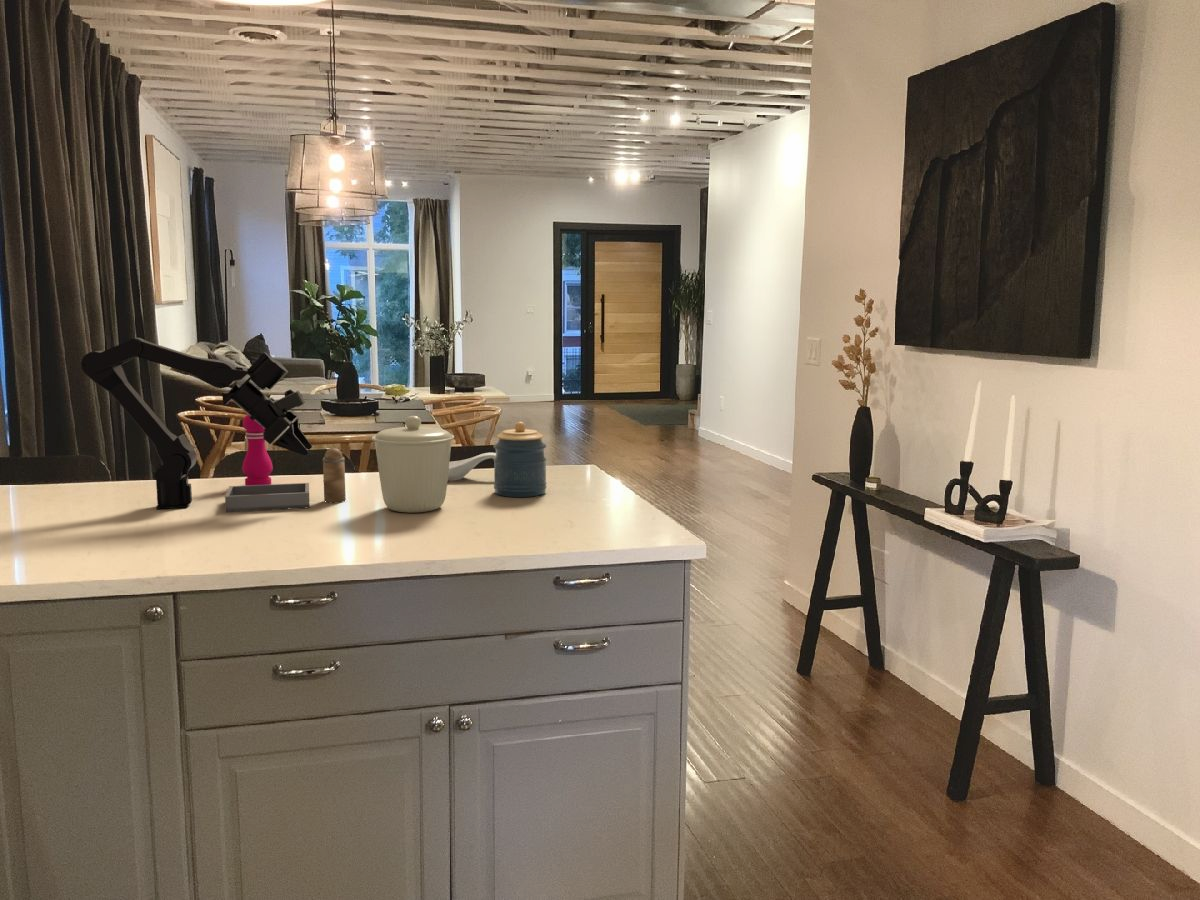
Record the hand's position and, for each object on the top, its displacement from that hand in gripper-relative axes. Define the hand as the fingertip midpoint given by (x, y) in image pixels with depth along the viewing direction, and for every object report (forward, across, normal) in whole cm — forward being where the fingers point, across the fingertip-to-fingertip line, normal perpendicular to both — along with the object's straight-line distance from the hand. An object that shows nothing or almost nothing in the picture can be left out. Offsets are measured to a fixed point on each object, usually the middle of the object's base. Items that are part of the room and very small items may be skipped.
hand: (309, 451), depth 217 cm
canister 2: (+44, +3, -26) cm, 51 cm away
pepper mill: (-2, +23, +19) cm, 30 cm away
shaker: (+12, 0, +5) cm, 13 cm away
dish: (+2, -2, +15) cm, 15 cm away
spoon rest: (+36, +24, -18) cm, 47 cm away
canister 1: (+25, -12, -8) cm, 29 cm away
